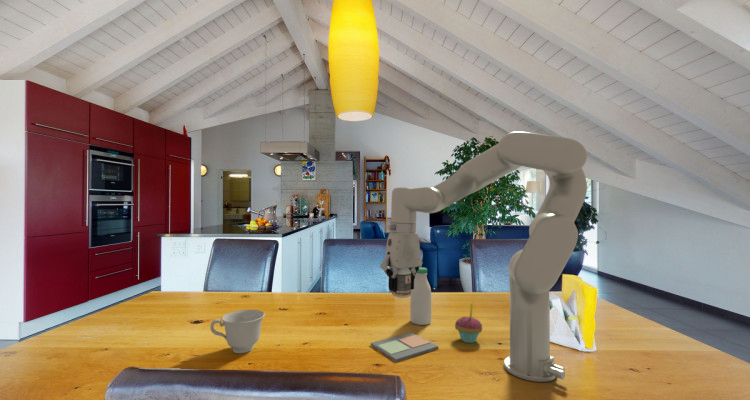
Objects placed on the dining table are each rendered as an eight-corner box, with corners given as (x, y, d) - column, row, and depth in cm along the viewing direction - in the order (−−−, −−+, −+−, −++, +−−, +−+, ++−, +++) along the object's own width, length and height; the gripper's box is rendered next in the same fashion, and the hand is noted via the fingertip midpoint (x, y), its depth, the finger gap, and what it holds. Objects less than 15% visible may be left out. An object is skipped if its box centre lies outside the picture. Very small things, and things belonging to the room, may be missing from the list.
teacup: (211, 346, 100) (211, 313, 100) (262, 338, 106) (263, 307, 106) (208, 363, 89) (209, 326, 89) (266, 354, 95) (266, 319, 95)
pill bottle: (414, 296, 98) (415, 262, 98) (402, 299, 94) (403, 264, 94) (399, 292, 102) (400, 260, 102) (387, 295, 98) (388, 261, 98)
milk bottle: (432, 325, 118) (432, 270, 119) (411, 325, 119) (411, 270, 119) (429, 318, 126) (429, 266, 127) (409, 318, 126) (409, 266, 127)
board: (438, 348, 99) (438, 345, 99) (396, 362, 90) (396, 358, 90) (410, 334, 110) (410, 331, 110) (370, 345, 101) (370, 342, 101)
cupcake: (464, 332, 112) (463, 297, 112) (487, 340, 106) (487, 302, 106) (450, 339, 106) (450, 302, 106) (474, 348, 100) (474, 308, 100)
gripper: (387, 230, 90) (384, 296, 90) (433, 229, 100) (431, 289, 99) (372, 228, 96) (370, 290, 96) (417, 227, 106) (415, 283, 106)
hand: (401, 288), depth 98 cm, fingers closed on pill bottle, 5 cm apart
